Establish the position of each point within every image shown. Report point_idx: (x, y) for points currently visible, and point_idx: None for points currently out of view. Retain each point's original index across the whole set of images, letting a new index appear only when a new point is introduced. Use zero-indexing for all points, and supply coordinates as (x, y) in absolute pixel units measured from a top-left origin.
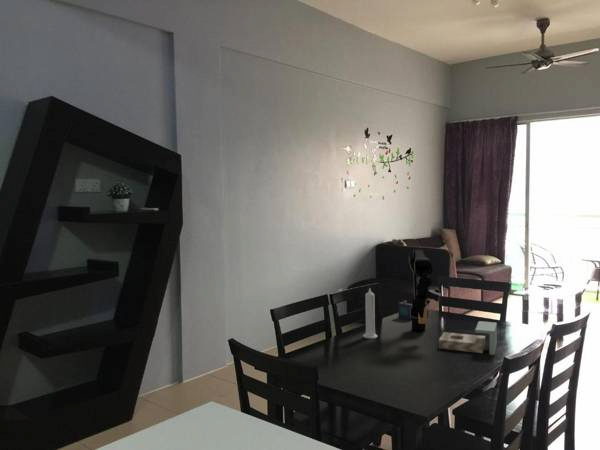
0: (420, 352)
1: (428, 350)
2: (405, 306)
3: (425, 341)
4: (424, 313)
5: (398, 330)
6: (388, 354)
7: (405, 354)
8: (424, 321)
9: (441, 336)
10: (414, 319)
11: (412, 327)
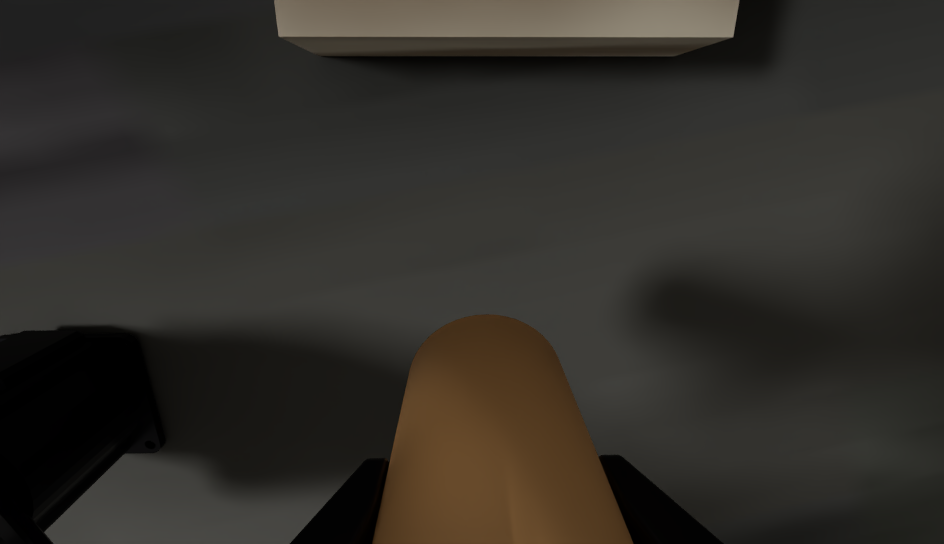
0: (848, 220)
1: (769, 157)
2: None
3: (455, 248)
4: (613, 512)
5: (200, 538)
6: (929, 446)
7: (922, 331)
8: (559, 369)
9: (541, 30)
10: (36, 524)
11: (111, 462)
